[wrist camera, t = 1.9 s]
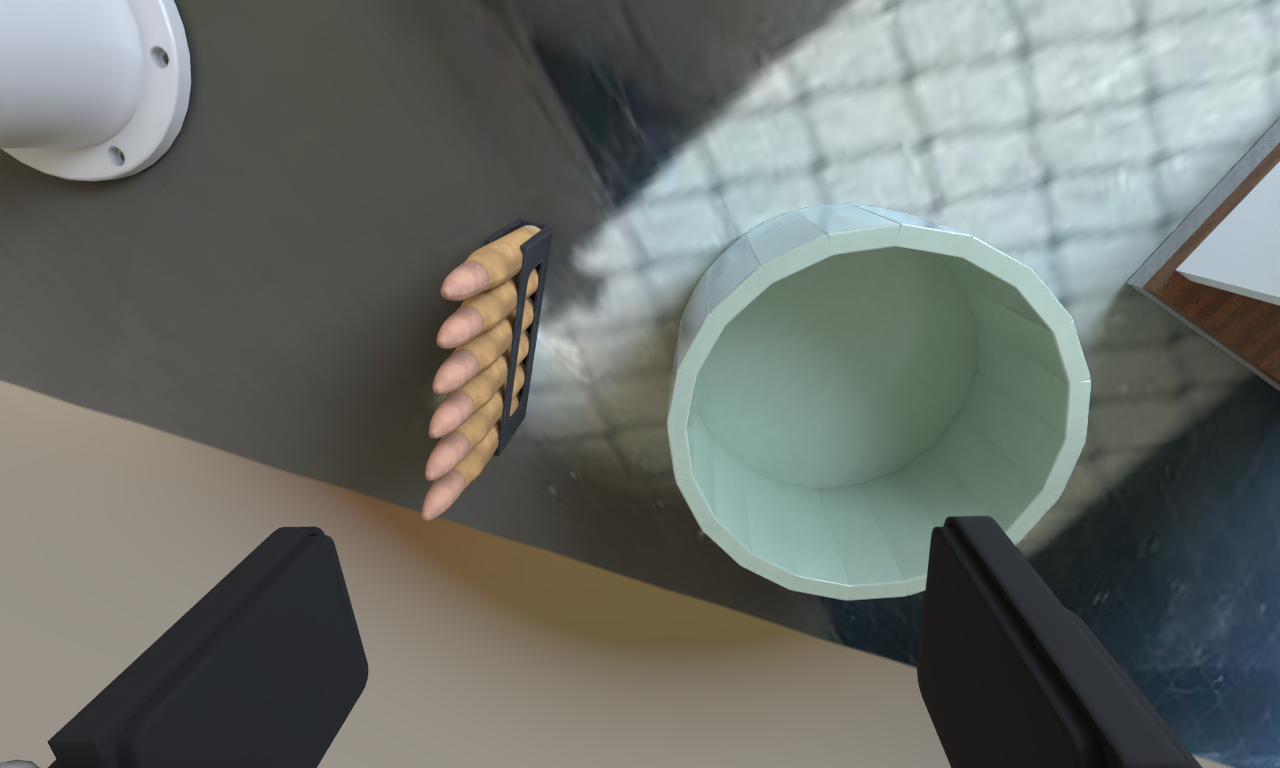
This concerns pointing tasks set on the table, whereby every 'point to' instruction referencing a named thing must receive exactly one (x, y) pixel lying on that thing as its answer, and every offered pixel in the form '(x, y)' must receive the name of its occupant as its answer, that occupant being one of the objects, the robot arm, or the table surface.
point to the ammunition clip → (485, 357)
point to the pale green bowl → (869, 397)
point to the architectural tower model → (1228, 263)
